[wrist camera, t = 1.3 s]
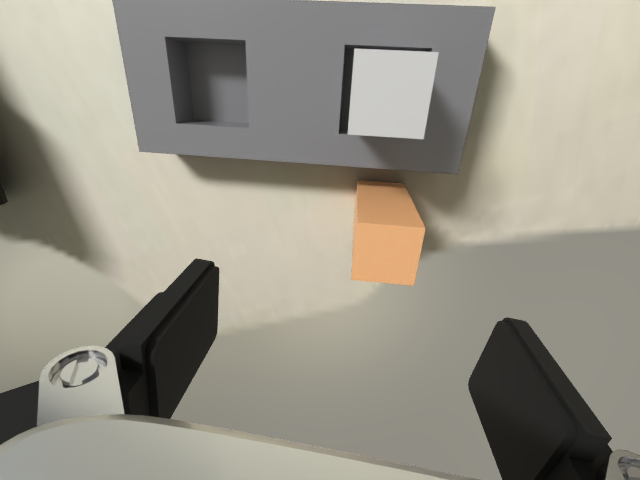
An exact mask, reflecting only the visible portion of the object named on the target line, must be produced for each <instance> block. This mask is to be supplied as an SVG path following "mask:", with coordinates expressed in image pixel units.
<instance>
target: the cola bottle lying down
mask: <svg viewBox="0 0 640 480" xmlns="http://www.w3.org/2000/svg"><path fill="white" fill-rule="evenodd" d="M7 202H8V201H7V198H6V196H5V193H4V191H3V188H2V186H1V183H0V205H2V204H5V203H7Z"/></svg>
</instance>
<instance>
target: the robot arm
mask: <svg viewBox="0 0 640 480" xmlns="http://www.w3.org/2000/svg"><path fill="white" fill-rule="evenodd" d="M218 294H219V268H218V267H215V265H214V262H212V261H207V260H202V259H195V260H194V261H193V262H192V263H191V264H190V265H189V266H188V267H187V268H186V269H185V270H184V271H183V272H182V273H181V274H180V275H179V276H178V278H177V279H176V280H175V281H174V282H173V283H172V284H171V285H170V286H169V287H168V288H167V289H166V290H165V291H164V292H160V293H158V294H157V295H156V296H155V297H154V298H153V299H152V300H151V301H150V302H149V303H148V304H147V305H146V306H145V307H144V308H143V309H142V310H141V311H140V312H139V313H138V314H137V315H136V316H135V317H134V318H133V319H132V320H131V321H130V322H129V323H128V324H127V326H125V328H123V329H122V331H121V332H120V333H119V334H118V335H117V336H116V337H115V338H114V339H113V340H112V341H111V342H110V343H109V344H108V345H107V346H106V347H105V348H104V347H101V346H83V347H78V348H75V349H72V350H69V351H66V352H64V353H62V354H61V355H59V356H57V357H55V358H54V359H53V360H52V361H50V362H49V363H48V364H47V365H46V367H45V368H44V369H43V370H42V372H41V376H40V379H39V381H37V382H34V383H30V384H27V385H25V386H21V387H18V388H15V389H12V390H9V391H6V392H3V393H0V480H478V479H474V478H469V477H464V476H459V475H455V474H450V473H445V472H440V471H435V470H430V469H425V468H420V467H416V466H410V465H406V464H401V463H396V462H391V461H386V460H381V459H377V458H372V457H367V456H362V455H357V454H352V453H347V452H342V451H336V450H332V449H327V448H322V447H317V446H311V445H307V444H302V443H296V442H291V441H286V440H281V439H276V438H271V437H266V436H261V435H256V434H251V433H245V432H241V431H235V430H230V429H224V428H219V427H213V426H208V425H202V424H196V423H191V422H186V421H180V420H174V419H170V418H171V416H172V414H173V413H174V411H175V409H176V407H177V405H178V404H179V402H180V400H181V399H182V397H183V395H184V393H185V391H186V390H187V388H188V386H189V384H190V383H191V381H192V379H193V377H194V376H195V374H196V372H197V370H198V368H199V367H200V365H201V363H202V361H203V360H204V358H205V356H206V354H207V353H208V351H209V349H210V347H211V345H212V344H213V342H214V340H215V337H216V334H217V326H218ZM468 385H469V391H470V394H471V397H472V399H473V402H474V405H475V407H476V410H477V413H478V415H479V418H480V421H481V424H482V426H483V429H484V432H485V434H486V437H487V440H488V442H489V445H490V448H491V450H492V453H493V456H494V458H495V460H496V464H497V466H498V469H499V472H500V474H501V477H502V480H640V455H638V454H635V453H632V452H629V451H626V450H616V451H612V450H611V448H610V447H609V446H608V443H609V441H610V440H611V439H612V438H611V436H610V435H609V434H608V432H607V431H606V430H605V428H604V427H603V425H602V424H601V423H600V421H599V420H598V419H597V417H596V416H595V415H594V413H593V412H592V411H591V409H590V408H589V406H588V405H587V404H586V402H585V401H584V399H583V398H582V397H581V395H580V394H579V393H578V391H577V390H576V389H575V387H574V386H573V385H572V383H571V382H570V380H569V379H568V378H567V376H566V375H565V373H564V372H563V371H562V369H561V368H560V367H559V365H558V364H557V363H556V361H555V360H554V359H553V357H552V356H551V354H550V353H549V352H548V350H547V349H546V347H545V346H544V345H543V343H542V342H541V341H540V339H539V338H538V337H537V335H536V334H535V333H534V331H533V330H532V328H531V327H530V326H529V324H528V323H527V322H525V321H522V320H517V319H512V318H504V319H503V320H502V321H498V322H497V324H496V325H495V328H494V329H493V331H492V334H491V336H490V338H489V340H488V342H487V344H486V346H485V348H484V350H483V352H482V354H481V356H480V358H479V360H478V362H477V364H476V367H475V369H474V370H473V373H472V375H471V377H470V379H469V384H468Z"/></svg>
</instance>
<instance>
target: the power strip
mask: <svg viewBox="0 0 640 480" xmlns="http://www.w3.org/2000/svg"><path fill="white" fill-rule="evenodd" d="M112 1H113V6H114V12H115V17H116V23H117V29H118V34H119V40H120V45H121V51H122V57H123V62H124V68H125V73H126V79H127V85H128V90H129V96H130V101H131V107H132V112H133V118H134V124H135V129H136V135H137V140H138V146H139V152H152V153H166V154H180V155H194V156H208V157H222V158H236V159H250V160H264V161H278V162H292V163H306V164H321V165H335V166H349V167H363V168H377V169H391V170H405V171H419V172H433V173H447V174H458V171H459V166H460V162H461V158H462V153H463V149H464V144H465V140H466V135H467V131H468V127H469V122H470V118H471V113H472V109H473V105H474V100H475V96H476V91H477V87H478V83H479V78H480V74H481V69H482V65H483V60H484V56H485V52H486V47H487V43H488V38H489V34H490V30H491V25H492V21H493V16H494V12H495V7H483V6H454V5H424V4H395V3H366V2H337V1H308V0H112Z"/></svg>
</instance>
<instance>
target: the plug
mask: <svg viewBox="0 0 640 480" xmlns="http://www.w3.org/2000/svg"><path fill="white" fill-rule="evenodd" d="M424 233H425V226H424V224H423V222H422V220H421V218H420V216H419V213H418V211H417V209H416V207H415V205H414V203H413V201H412V199H411V197H410V195H409V193H408V191H407V189H406V187H405V184H403V183H389V182H376V181H362V180H358V181H357V191H356V201H355V211H354V221H353V249H352V279H351V280H360V281H370V282H381V283H392V284H402V285H412V286H413V285H414V284H415V279H416V274H417V269H418V263H419V259H420V253H421V248H422V243H423V238H424Z"/></svg>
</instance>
